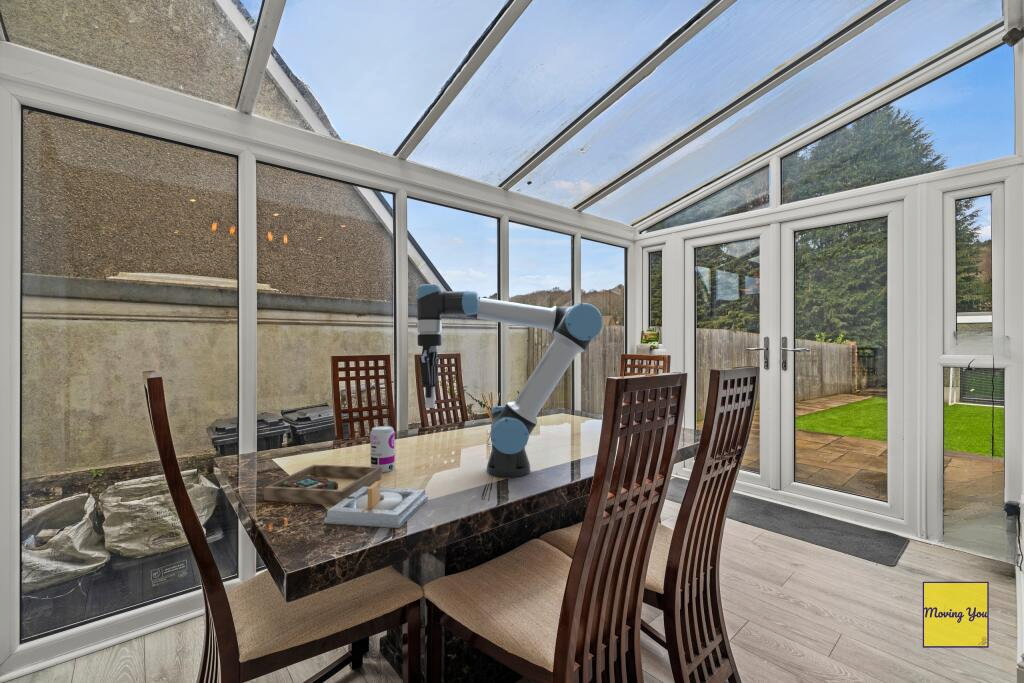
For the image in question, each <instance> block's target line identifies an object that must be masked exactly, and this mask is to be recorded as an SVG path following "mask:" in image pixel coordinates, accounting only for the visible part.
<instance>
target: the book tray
mask: <svg viewBox="0 0 1024 683" xmlns="http://www.w3.org/2000/svg"><path fill="white" fill-rule="evenodd" d="M307 475H311V476H315V477H323V478H326V477H327V478H340V479H342V478H343V479H356V480H355V481H354V482H352V483H350V484H348V485H347V486H345V487H344V488H341V489H337V490H329V489H310V488H290V487H284V486H282V483H283V482H285V481H286V482H287V481H293V480H296V479H300V478H302V477H305V476H307ZM382 479H383V478H382V467H371V466H361V465H359V466H358V465H356V466H355V465H338V464H337V465H334V464H315V463H314V464H312V465H310V466H307V467H305V468H303V469H301V470H299V471H297V472H295V473H292V474H291V475H287V476H286V477H284V478H282V479H278V481H276V482H274V483H270V484H269V485H266V486H264V487H263V501H269V502H283V503H285V502H286V503H299V504H313V505H314V504H316V505H326V506H335V505H336V504H338V503H339V502H341V501H342V500H344V499H345V498H347V497H348V496H350V495H351V494H353V493H354V492H356V491H358V490H359V489H361V488H362V487H370V486H371V485H372V484H374V483H375V482H376V481H381V480H382Z"/></svg>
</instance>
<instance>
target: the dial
mask: <svg viewBox="0 0 1024 683" xmlns="http://www.w3.org/2000/svg"><path fill="white" fill-rule="evenodd" d="M380 487H381V480H379V481H376V482H375V483H374V484H372V485H371V486H370V487H369V488H368V489H367V490H368V494H367V495H364V496H362V497H360V498H358V499H357V500H356V508H361V509H365V508H368V509H378V510H394V509H395V508H396V507H397V506H398V505H400V504H401V503H402V496H401V495H400V494H398V493H394V492H380Z"/></svg>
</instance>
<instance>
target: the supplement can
mask: <svg viewBox="0 0 1024 683" xmlns="http://www.w3.org/2000/svg"><path fill="white" fill-rule="evenodd" d="M369 437H370V438H369V439H370V441H369V442H370V467H382V473H388V472H392V471H393V470H394V469H395V466H396V463H395V461H396V460H395V459H396V457H395V456H396V454H395V450H396V448H395V442H396V441H395V430H394V428H393V426H388V425H384V426H383V425H381V426H375V427H372V428H371V431H370V433H369Z"/></svg>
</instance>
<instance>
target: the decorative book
mask: <svg viewBox="0 0 1024 683" xmlns="http://www.w3.org/2000/svg"><path fill="white" fill-rule="evenodd" d="M282 486H284V487H290V488H310V489H329V490H339V483H338V482H337V481H336V480H335V481H334V480H332V479H329V480H328V478H326V477H322V476H311V475H307V476H305V477H302V478H300V479H296V480H293V481H287V482H286V481H285V482H283V483H282Z"/></svg>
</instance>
